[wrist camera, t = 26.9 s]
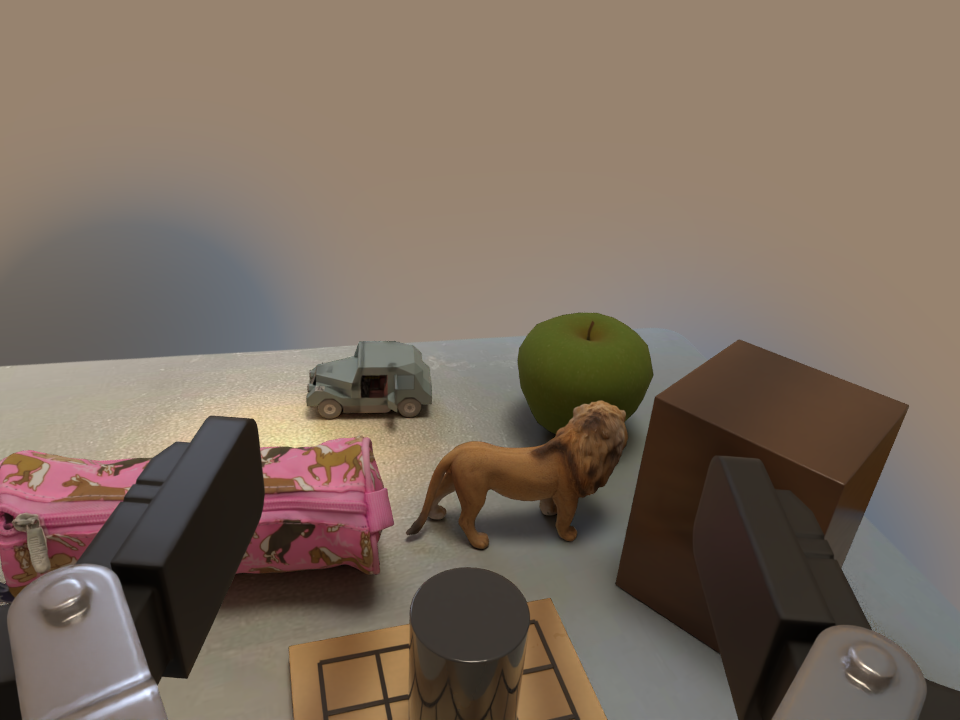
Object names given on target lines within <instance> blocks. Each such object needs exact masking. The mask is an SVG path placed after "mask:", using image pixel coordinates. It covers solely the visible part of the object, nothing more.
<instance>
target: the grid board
mask: <svg viewBox="0 0 960 720" xmlns="http://www.w3.org/2000/svg"><path fill="white" fill-rule="evenodd" d="M527 604H528V607H529V612H530V625H529V632H528V640H527V647H526V654H525V661H524V669H523V676H522V683H521V691H520V698H519V705H518V712H517V720H607V718H606V716H605V714H604V712H603V709H602V707H601V705H600V703H599V701H598V699H597V697H596V694H595V692H594V690H593V688H592V686H591V684H590V682H589V679H588V677H587V675H586V673H585V671H584V669H583V667H582V664H581V662H580V660H579V658H578V656H577V654H576V652H575V649H574V647H573V645H572V643H571V641H570V639H569V637H568V634H567V632H566V630H565V628H564V626H563V624H562V622H561V619H560V617H559V615H558V613H557V611H556V609H555V607H554V604H553V602H552V600H551V598H547V599H542V600H537V601H531V602H527ZM289 660H290V674H291V688H292V702H293V715H294V720H408V669H409V624H407V625H401V626H396V627H390V628H385V629H380V630H374V631H369V632H363V633H358V634H352V635H347V636H342V637H336V638H331V639H325V640H320V641H315V642H309V643H304V644H298V645H293V646H289Z"/></svg>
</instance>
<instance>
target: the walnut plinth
mask: <svg viewBox="0 0 960 720" xmlns="http://www.w3.org/2000/svg"><path fill="white" fill-rule="evenodd" d="M908 408H909V405H907V404H905V403H902V402H900V401H897V400H894V399H892V398H889V397H886V396H884V395H881V394H879V393H876V392H874V391H871V390H869V389H866V388H863V387H861V386H858V385H856V384H853V383H850V382H848V381H845V380H842V379H840V378H838V377H835V376H832V375H830V374H827V373H825V372H822V371H820V370H817V369H814V368H811V367H809V366H807V365H804V364H801V363H799V362H796V361H793V360H791V359H788V358H786V357H783V356H781V355H778V354H776V353H773V352H770V351H768V350H765V349H763V348H760V347H757V346H755V345H752V344H750V343H747V342H745V341H742V340H737V341H736V342H734V343H733V344H731V345H730V346H729V347H727V348H726V349H724V350H723V351H721V352H720V353H718V354H717V355H715V356H714V357H713V358H711V359H710V360H708V361H707V362H705V363H704V364H702V365H701V366H699V367H698V368H696V369H695V370H693V371H692V372H691V373H689V374H688V375H686V376H685V377H683V378H682V379H680V380H679V381H677V382H676V383H674V384H673V385H672V386H670V387H669V388H667V389H666V390H664V391H663V392H661V393H660V394H658V395H657V396H656V397H655V400H654V404H653V409H652V414H651V419H650V423H649V428H648V433H647V437H646V442H645V447H644V451H643V456H642V461H641V466H640V470H639V475H638V480H637V484H636V489H635V494H634V498H633V503H632V508H631V513H630V517H629V522H628V527H627V531H626V536H625V541H624V545H623V550H622V555H621V560H620V564H619V569H618V574H617V578H616V583H615V584H616V585H617V586H619V587H620V588H622V589H623V590H625V591H626V592H628V593H629V594H631V595H632V596H634V597H635V598H637V599H638V600H640V601H641V602H643V603H644V604H646V605H648V606H649V607H651V608H652V609H654V610H655V611H657V612H658V613H660V614H661V615H663V616H664V617H666V618H667V619H669V620H670V621H672V622H673V623H675V624H676V625H678V626H679V627H681V628H682V629H684V630H685V631H687V632H688V633H690V634H691V635H693V636H695V637H696V638H698V639H699V640H701V641H702V642H704V643H705V644H707V645H708V646H710V647H711V648H713V649H714V650H716V651H717V652H719V653H720V650H719V647H718V643H717V639H716V636H715V632H714V628H713V625H712V621H711V617H710V614H709V610H708V606H707V603H706V599H705V595H704V592H703V588H702V584H701V581H700V577H699V573H698V570H697V566H696V562H695V558H694V553H693V527H694V522H695V517H696V514H697V510H698V506H699V502H700V499H701V495H702V491H703V487H704V483H705V480H706V476H707V472H708V468H709V465H710V462H711V460H712V458H713V457H714V456H716V455H717V456H730V457H743V458H756V459H760V460H761V461H762V462H763V464H764V466H765V469H766V471H767V473H768V475H769V477H770V480H771V482H772V484H773V486H774V488H775V489H779V490H790V491H791V492H792V493H793V494H795V495H796V496H797V497H798V498H799V499H800V500H801V501H802V502H803V503H804V504H805V505H806V506H807V507H808V508H809V509H810V510H811V511H812V512H813V513H814V515H815V517H816V519H817V521H818V523H819V525H820V527H821V529H822V531H823V533H824V535H825V536H824V539H825V540H827V541H828V543H829V545H830V547H831V549H832V551H833V553H834V560H837V561H838V563H839V565H840V567H841V568H842V565H843V563H844V561H845V558H846V556H847V553H848V551H849V549H850V546H851V544H852V542H853V539H854V537H855V534H856V532H857V530H858V527H859V525H860V522H861V520H862V518H863V515H864V513H865V511H866V508H867V506H868V503H869V501H870V498H871V496H872V494H873V491H874V489H875V487H876V484H877V482H878V480H879V477H880V475H881V472H882V470H883V468H884V465H885V463H886V460H887V458H888V456H889V453H890V451H891V448H892V446H893V444H894V441H895V439H896V436H897V434H898V432H899V429H900V427H901V424H902V422H903V420H904V417H905V415H906V413H907V410H908Z"/></svg>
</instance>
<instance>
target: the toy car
mask: <svg viewBox="0 0 960 720" xmlns="http://www.w3.org/2000/svg"><path fill="white" fill-rule="evenodd" d="M307 390H308V392H309V393H308V394H307V398H306V402H307V406H309V407H314V406H317V405H318V412H319V413H320V415H321V416H323V417H325V418H328V419H332V418H335V417H337V416H339V415H340V413H341V410H342V408H343V413H386V412H389V411H390V410H391V409H392V410H394V411H395V412H397V407H398V410H399V412H400V414H401V415H403V416H405V417H414V416H416V415H418V413H419V412H420V410H421V404H423V405H429V404H432V385H431V376H430V368H429V367H428V366H427V365H426V364H425V363H424V362H423V361H422V354H421V352H420V351H419V350H418V349H417V348H415V347H414V346H413V345H409V344H405V343H400V342H396V341H389V342H388V341H378V342H377V341H372V342H370V341H367V342H366V341H363V342H359V344H358V346H357V349H356V352H355V355H354V356H353V357H349V358H345V359H340V360H336V361H332V362H328V363H324V364H323V362H322V364H318V365H317V366H316V367H315V368H314V369H313V370H310V384H308V386H307Z"/></svg>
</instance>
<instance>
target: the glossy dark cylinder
mask: <svg viewBox="0 0 960 720" xmlns="http://www.w3.org/2000/svg"><path fill="white" fill-rule="evenodd" d="M529 625H530V612H529V607H528V604H527V601H526V600H525V598H524V596H523V594H522V593H521V592H520V590H519V589H518V588H517V587H516V586H515V585H514V584H513V583H512V582H510V581H509V580H508V579H506V578H505V577H503V576H501V575H499V574H497V573H494V572H492V571H489V570H485V569H480V568H470V567H466V568H455V569H450V570H447V571H444V572H441V573H439V574H437V575H435V576H433V577H431V578H430V579H428V580H427V581H426V582H425V583H424V584H423V585H422V586H421V587H420V588H419V589H418V591H417V592H416V594H415V595H414V597H413V599H412V603H411V606H410V619H409V669H408V720H517V712H518V705H519V698H520V691H521V683H522V676H523V669H524V661H525V654H526V647H527V640H528V632H529Z"/></svg>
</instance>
